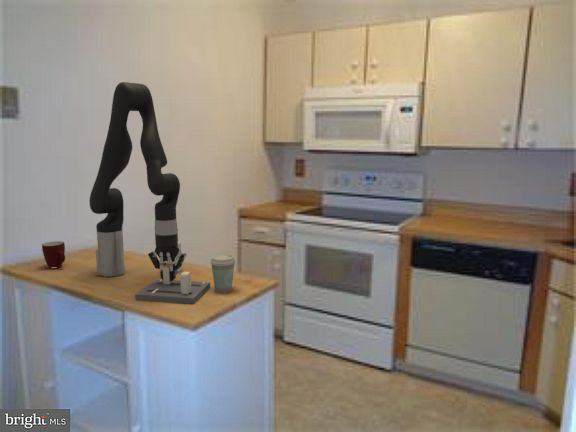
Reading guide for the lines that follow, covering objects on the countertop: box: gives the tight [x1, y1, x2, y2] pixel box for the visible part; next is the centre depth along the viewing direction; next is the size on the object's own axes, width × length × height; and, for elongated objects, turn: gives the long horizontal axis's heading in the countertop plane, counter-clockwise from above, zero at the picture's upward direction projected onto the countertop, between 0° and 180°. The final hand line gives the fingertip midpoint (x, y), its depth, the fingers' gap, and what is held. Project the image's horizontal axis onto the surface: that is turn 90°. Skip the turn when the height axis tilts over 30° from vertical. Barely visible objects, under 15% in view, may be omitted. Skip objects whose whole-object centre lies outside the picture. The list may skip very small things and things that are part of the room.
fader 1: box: [163, 263, 173, 285], centre depth 155 cm, size 2×3×7 cm
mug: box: [41, 240, 66, 268], centre depth 179 cm, size 10×8×10 cm
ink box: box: [166, 241, 183, 275], centre depth 174 cm, size 9×5×12 cm, turn 168°
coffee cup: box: [209, 253, 236, 294], centre depth 154 cm, size 9×8×12 cm
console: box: [134, 278, 211, 305], centre depth 151 cm, size 20×16×2 cm
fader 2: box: [180, 271, 192, 294], centre depth 145 cm, size 2×3×7 cm
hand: (168, 280), depth 155 cm, fingers closed on fader 1, 2 cm apart
